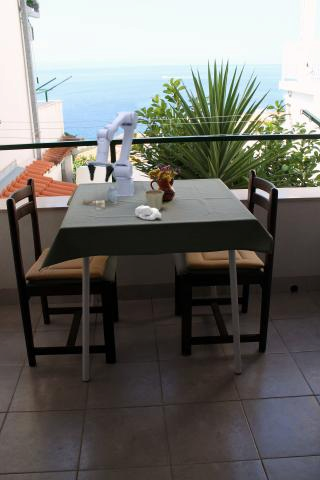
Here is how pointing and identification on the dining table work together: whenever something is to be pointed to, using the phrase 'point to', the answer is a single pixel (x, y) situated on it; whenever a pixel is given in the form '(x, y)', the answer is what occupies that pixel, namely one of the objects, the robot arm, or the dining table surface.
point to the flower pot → (154, 198)
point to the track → (94, 202)
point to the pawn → (112, 195)
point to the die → (100, 205)
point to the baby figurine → (147, 212)
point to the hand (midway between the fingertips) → (99, 181)
